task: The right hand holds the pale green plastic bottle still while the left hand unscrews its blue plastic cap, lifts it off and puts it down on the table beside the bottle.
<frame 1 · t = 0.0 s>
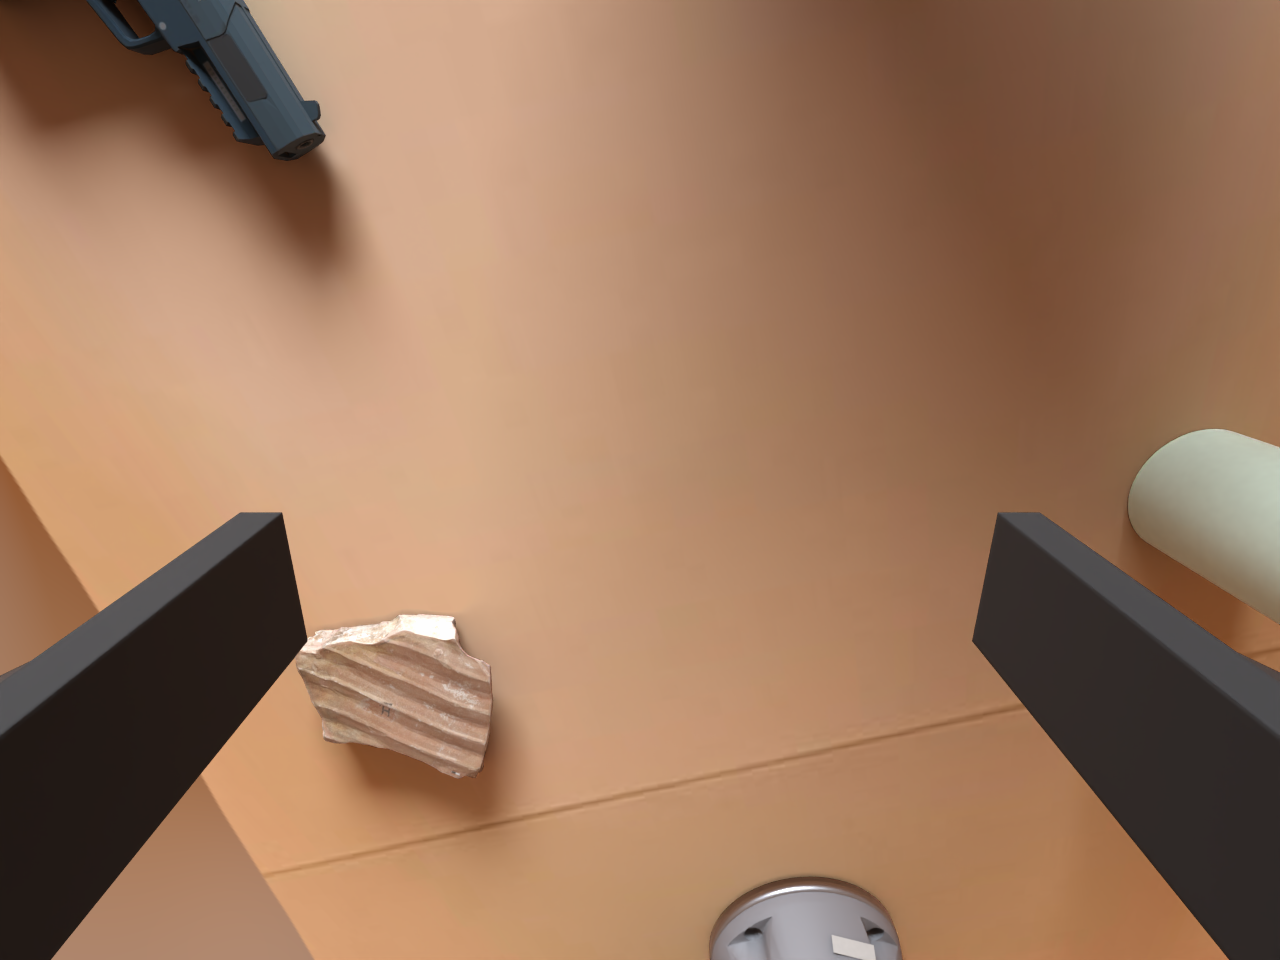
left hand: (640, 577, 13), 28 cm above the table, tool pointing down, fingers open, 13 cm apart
stone: (415, 691, 47), on the table
handgun: (140, 20, 33), on the table
bottle: (1194, 491, 42), on the table
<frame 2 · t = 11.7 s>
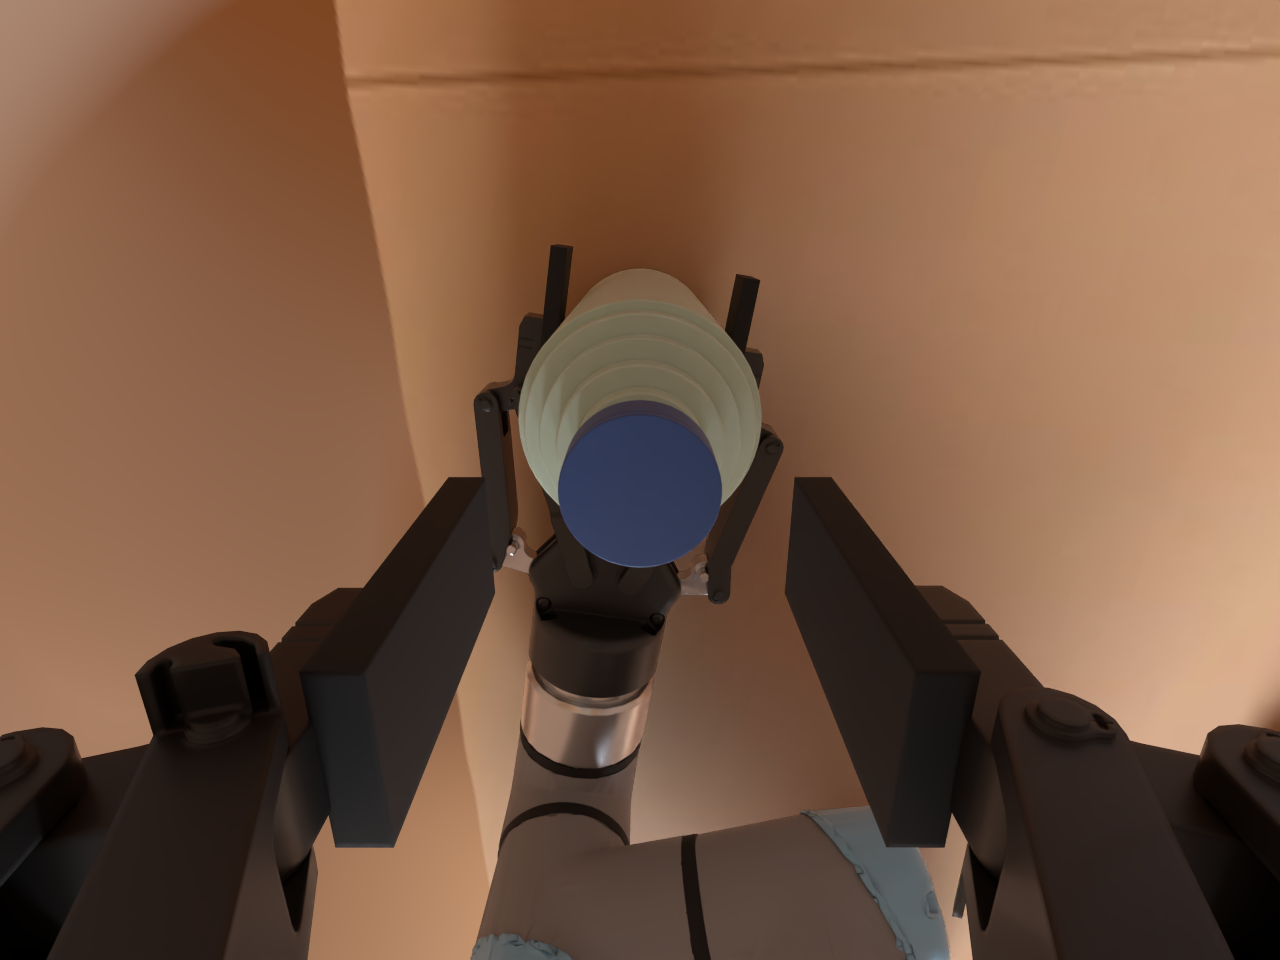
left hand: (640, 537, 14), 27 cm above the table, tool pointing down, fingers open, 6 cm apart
right hand: (655, 262, 32), fingers closed on bottle, 8 cm apart
bottle: (640, 341, 39), on the table, touching right hand
cap: (640, 490, 17), point 24 cm above the table, screwed on, not yet turned
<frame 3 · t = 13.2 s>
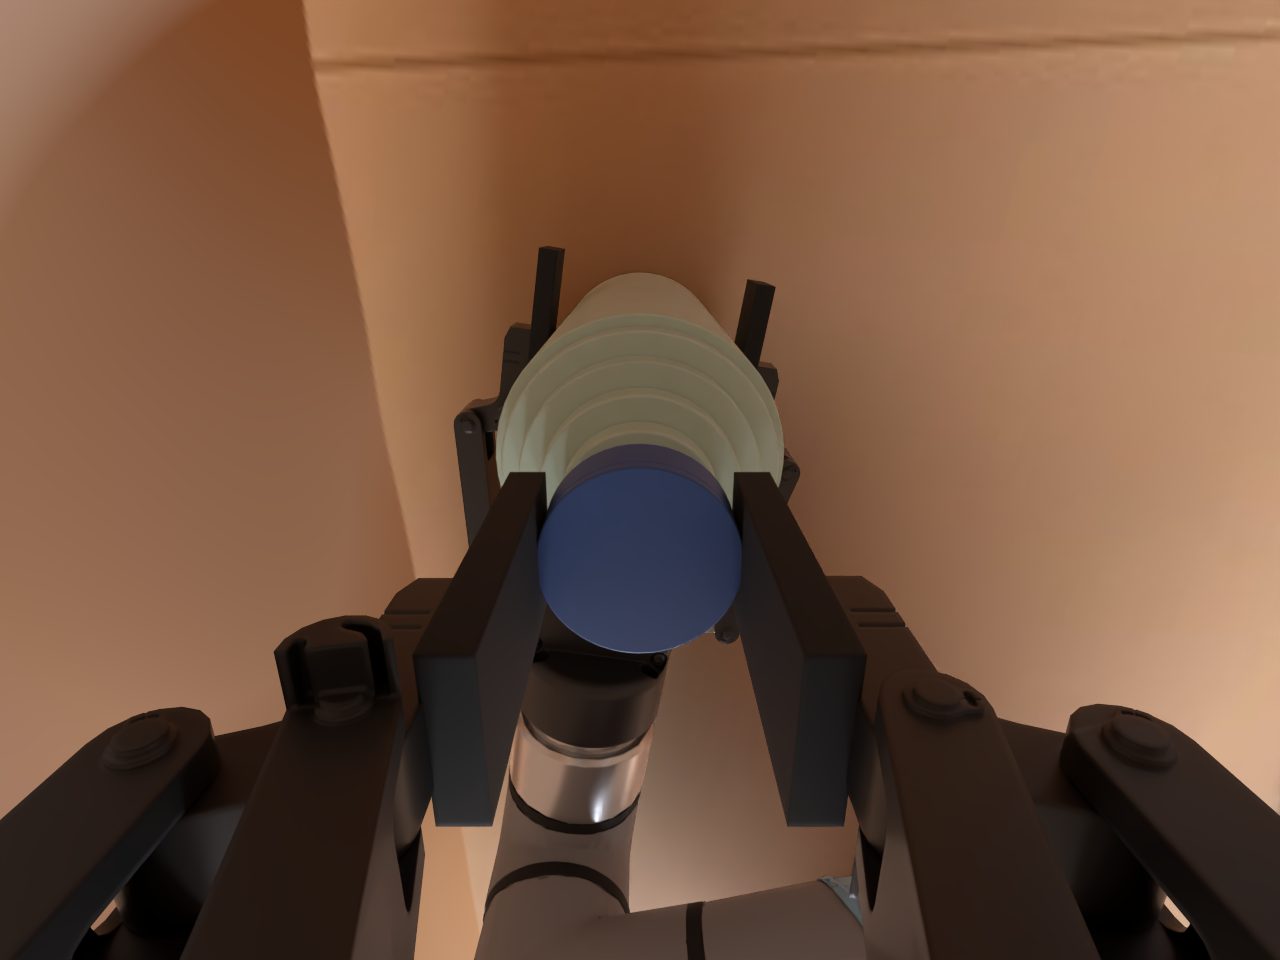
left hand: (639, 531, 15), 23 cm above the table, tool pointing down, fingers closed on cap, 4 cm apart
bottle: (639, 352, 36), on the table, touching right hand
cap: (639, 558, 13), point 24 cm above the table, screwed on, not yet turned, touching left hand
when the left hand's fingers open (1 cm above the table, at t = 32.6 s): cap drops 1 cm, point 1 cm above the table.
when the right hand's fingers open (6 cm above the table, at t = 33.9 s): bottle stays where it is, on the table.
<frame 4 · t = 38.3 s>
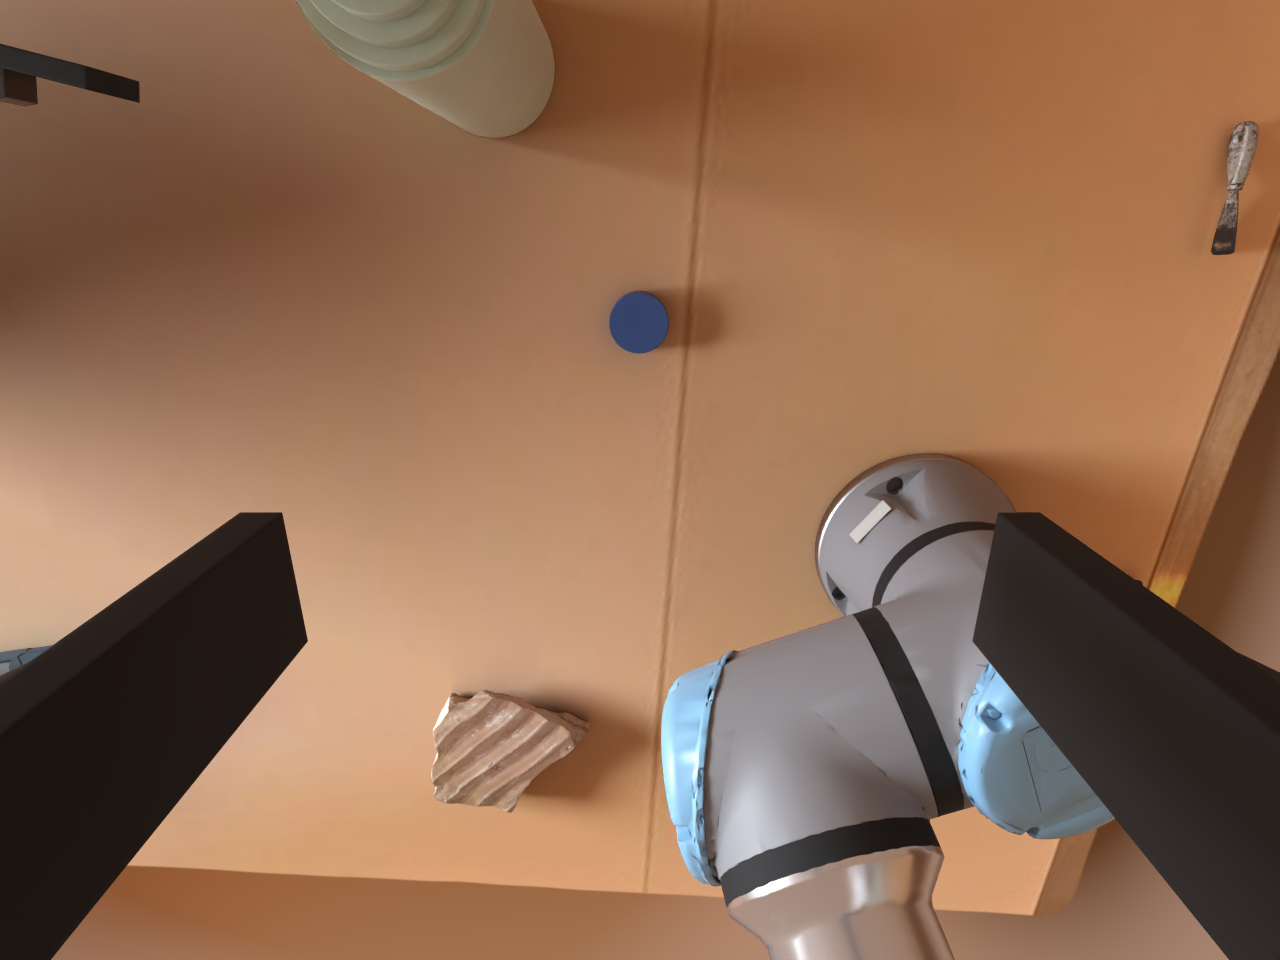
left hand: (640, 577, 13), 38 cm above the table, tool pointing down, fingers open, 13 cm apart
putty knife: (1222, 190, 45), on the table
stone: (510, 738, 61), on the table
handgun: (39, 696, 59), on the table
bottle: (489, 65, 42), on the table
cap: (638, 323, 47), point 1 cm above the table, off its thread
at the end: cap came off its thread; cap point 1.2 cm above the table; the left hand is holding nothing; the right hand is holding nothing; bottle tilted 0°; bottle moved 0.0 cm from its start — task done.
